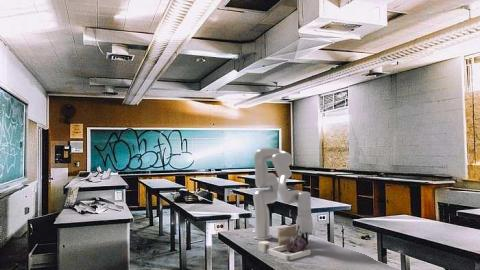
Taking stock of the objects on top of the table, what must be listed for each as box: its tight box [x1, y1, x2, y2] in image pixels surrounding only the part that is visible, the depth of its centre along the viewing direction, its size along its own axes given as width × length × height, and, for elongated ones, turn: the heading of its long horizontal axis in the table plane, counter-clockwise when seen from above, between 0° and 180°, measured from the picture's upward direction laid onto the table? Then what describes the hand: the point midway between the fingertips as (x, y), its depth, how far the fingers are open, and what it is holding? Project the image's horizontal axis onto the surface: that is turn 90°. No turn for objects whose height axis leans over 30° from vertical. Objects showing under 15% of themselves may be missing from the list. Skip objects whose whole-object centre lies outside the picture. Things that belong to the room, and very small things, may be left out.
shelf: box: [275, 224, 302, 247], centre depth 231 cm, size 6×20×12 cm, turn 127°
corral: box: [266, 245, 312, 261], centre depth 214 cm, size 17×18×2 cm
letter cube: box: [257, 240, 271, 253], centre depth 222 cm, size 5×5×5 cm
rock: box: [286, 236, 307, 253], centre depth 218 cm, size 12×9×10 cm
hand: (305, 244), depth 222 cm, fingers closed
